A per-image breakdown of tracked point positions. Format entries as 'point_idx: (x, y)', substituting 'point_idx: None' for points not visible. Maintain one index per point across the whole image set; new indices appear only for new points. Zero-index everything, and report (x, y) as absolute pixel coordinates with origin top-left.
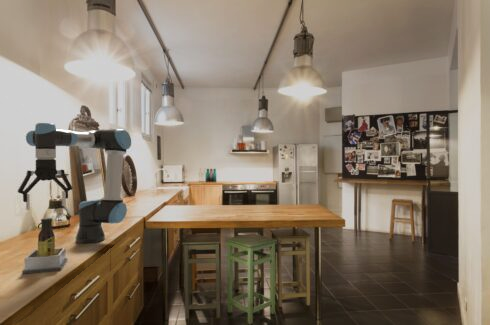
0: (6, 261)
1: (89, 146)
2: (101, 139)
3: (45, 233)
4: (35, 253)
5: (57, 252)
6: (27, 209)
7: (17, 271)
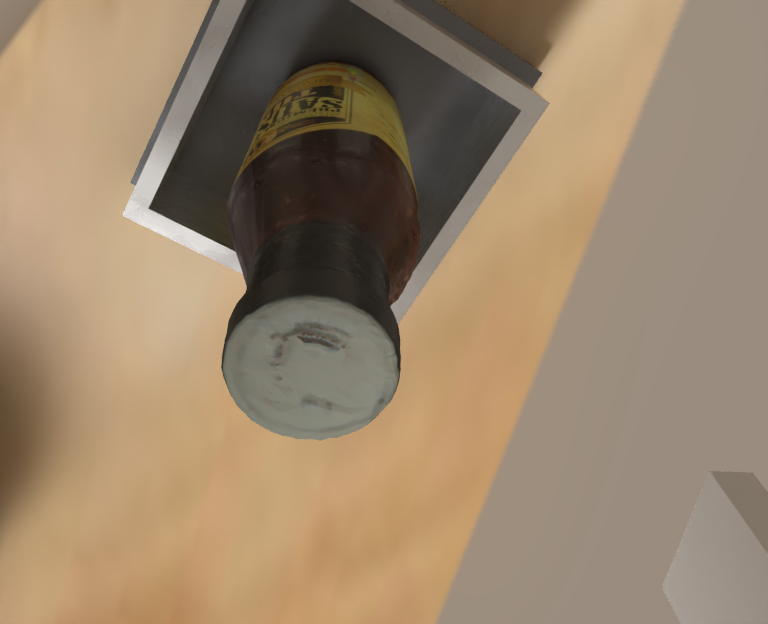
0: (483, 475)
1: None
2: None
3: (357, 189)
4: None
5: (207, 218)
6: (755, 490)
7: (526, 182)
